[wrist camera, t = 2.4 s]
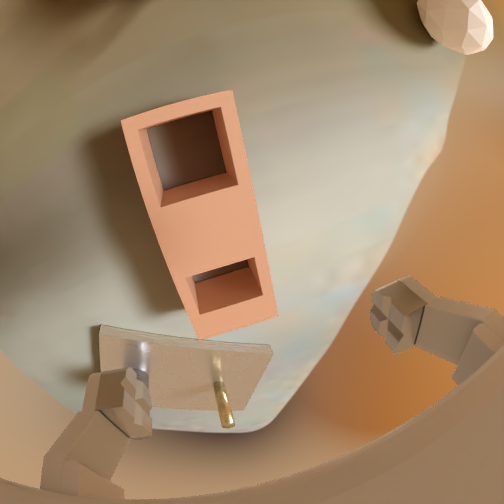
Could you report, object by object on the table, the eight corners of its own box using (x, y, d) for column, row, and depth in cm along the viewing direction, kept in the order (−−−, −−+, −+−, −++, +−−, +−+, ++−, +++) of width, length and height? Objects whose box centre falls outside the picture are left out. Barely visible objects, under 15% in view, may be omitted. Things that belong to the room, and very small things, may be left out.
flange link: (132, 121, 15) (120, 120, 12) (220, 97, 16) (231, 89, 13) (194, 307, 23) (199, 340, 19) (262, 286, 23) (278, 315, 20)
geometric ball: (424, 35, 19) (486, 71, 15) (396, 24, 15) (477, 66, 12) (436, -17, 12) (503, 17, 9) (409, -40, 9) (497, -3, 6)
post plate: (104, 391, 24) (99, 449, 18) (101, 324, 21) (86, 393, 14) (241, 402, 30) (257, 454, 24) (269, 345, 27) (296, 404, 20)
